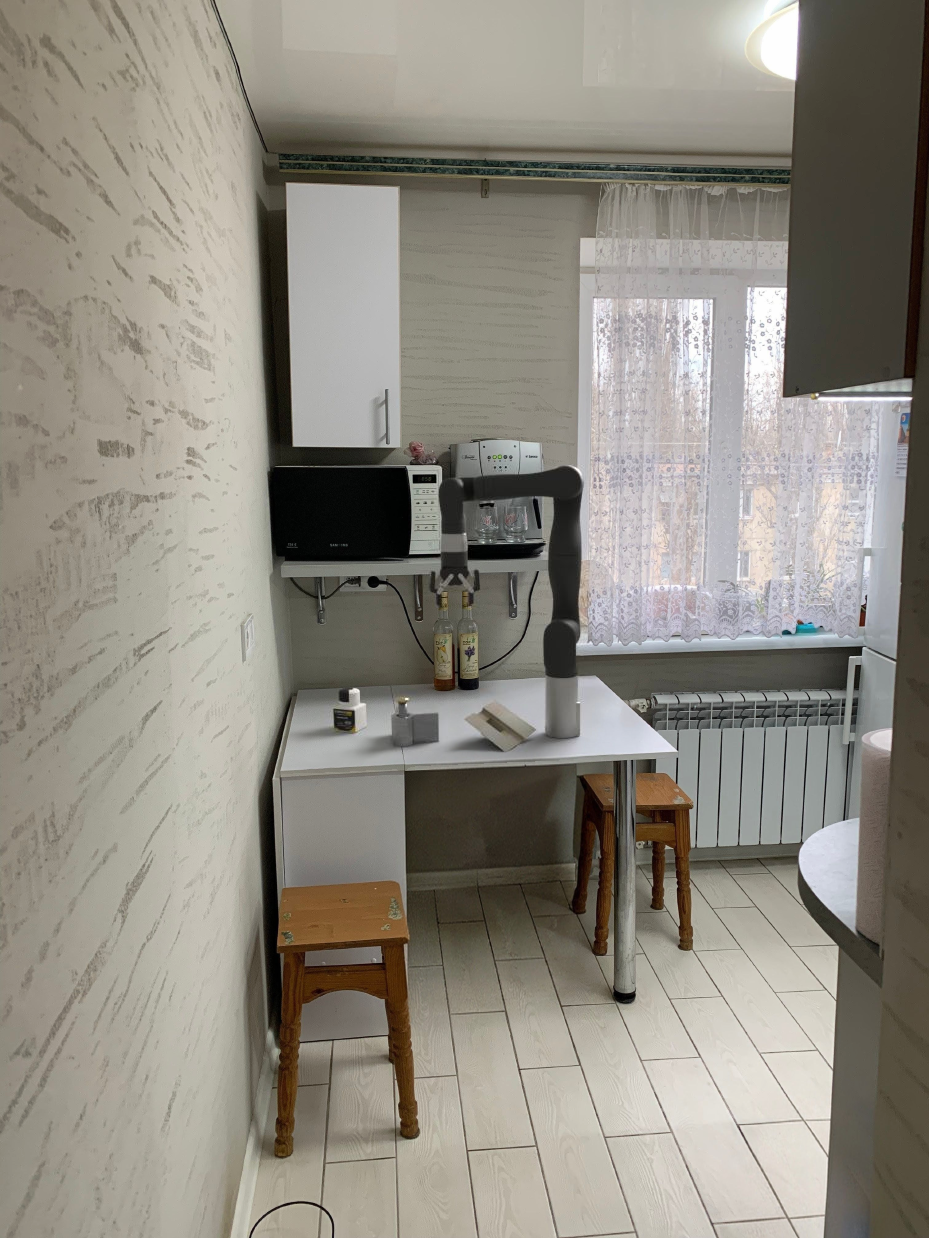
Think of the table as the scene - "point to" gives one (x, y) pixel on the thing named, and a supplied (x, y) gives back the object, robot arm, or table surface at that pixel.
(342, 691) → the medicine bottle
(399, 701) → the pin
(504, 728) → the beige folded piece
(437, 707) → the table surface
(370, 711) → the table surface
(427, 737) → the hinge
